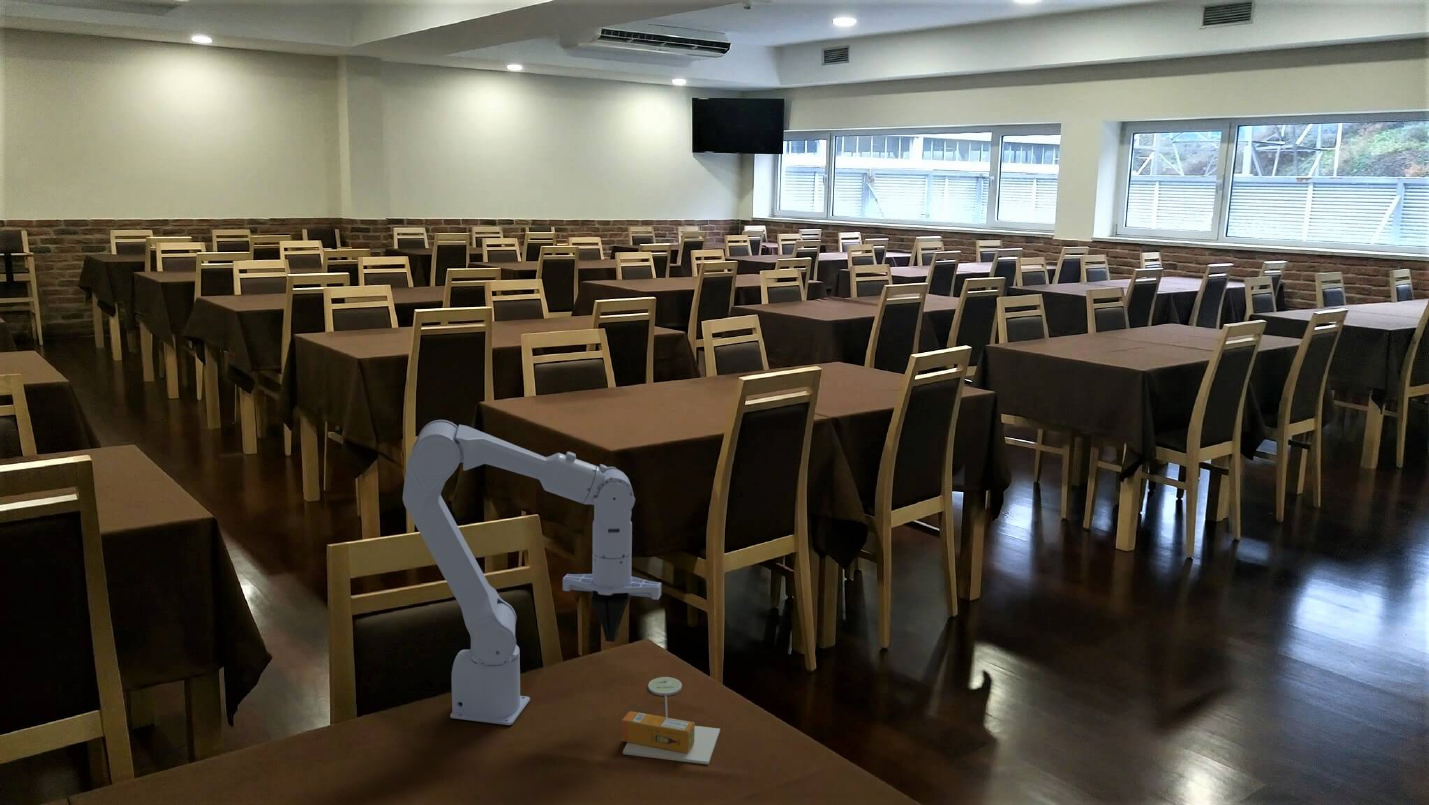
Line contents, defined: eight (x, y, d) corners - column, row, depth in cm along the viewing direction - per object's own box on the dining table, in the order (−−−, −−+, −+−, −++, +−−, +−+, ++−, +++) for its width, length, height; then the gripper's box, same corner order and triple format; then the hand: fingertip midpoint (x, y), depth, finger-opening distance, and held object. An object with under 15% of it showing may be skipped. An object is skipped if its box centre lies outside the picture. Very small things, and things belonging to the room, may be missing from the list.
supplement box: (630, 730, 149) (695, 744, 146) (620, 741, 146) (687, 756, 143) (630, 708, 148) (696, 722, 145) (620, 719, 145) (687, 733, 142)
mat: (622, 754, 143) (622, 751, 143) (639, 721, 152) (639, 719, 152) (708, 764, 141) (708, 761, 141) (720, 731, 150) (720, 728, 150)
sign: (649, 727, 150) (648, 677, 165) (648, 732, 150) (648, 682, 165) (685, 726, 151) (681, 676, 165) (684, 732, 151) (681, 681, 165)
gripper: (555, 557, 150) (556, 645, 152) (653, 566, 147) (652, 655, 150) (570, 541, 156) (571, 625, 159) (665, 549, 154) (663, 635, 157)
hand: (611, 638), depth 155 cm, fingers closed
